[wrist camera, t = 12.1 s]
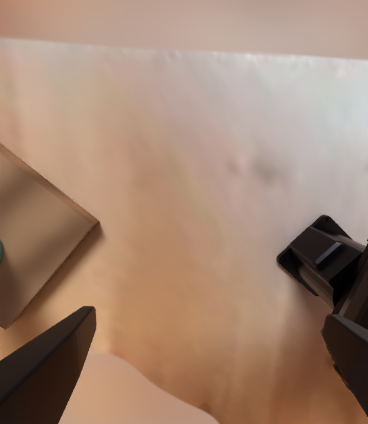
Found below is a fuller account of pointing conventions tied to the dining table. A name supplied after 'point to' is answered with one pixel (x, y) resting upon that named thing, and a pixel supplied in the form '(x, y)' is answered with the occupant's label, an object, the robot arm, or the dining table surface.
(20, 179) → the walnut board
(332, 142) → the dining table surface
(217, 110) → the dining table surface
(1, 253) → the teal cup
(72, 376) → the robot arm
